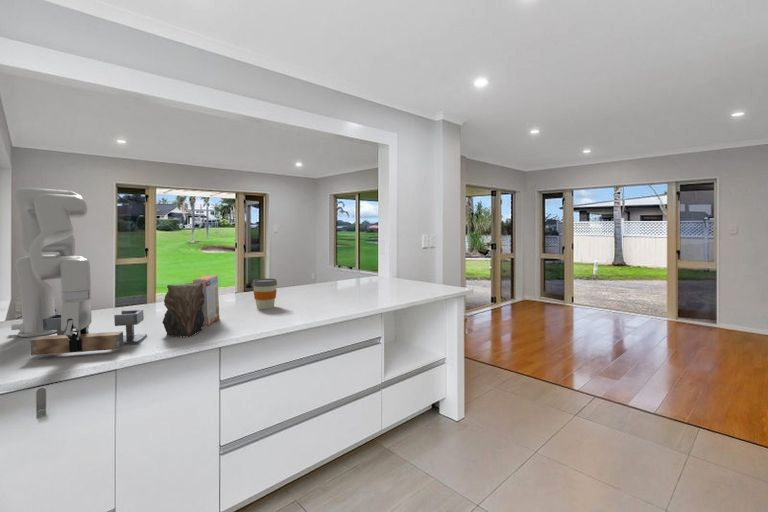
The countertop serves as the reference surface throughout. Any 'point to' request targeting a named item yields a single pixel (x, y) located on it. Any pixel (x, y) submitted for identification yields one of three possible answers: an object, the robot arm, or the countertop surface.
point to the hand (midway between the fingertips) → (79, 348)
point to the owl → (184, 309)
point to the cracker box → (209, 298)
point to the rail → (89, 343)
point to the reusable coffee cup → (265, 293)
